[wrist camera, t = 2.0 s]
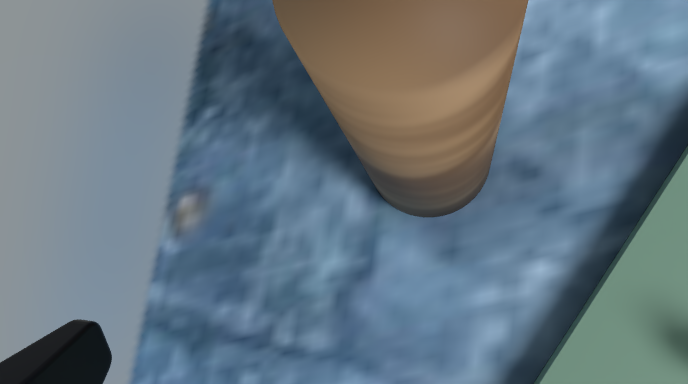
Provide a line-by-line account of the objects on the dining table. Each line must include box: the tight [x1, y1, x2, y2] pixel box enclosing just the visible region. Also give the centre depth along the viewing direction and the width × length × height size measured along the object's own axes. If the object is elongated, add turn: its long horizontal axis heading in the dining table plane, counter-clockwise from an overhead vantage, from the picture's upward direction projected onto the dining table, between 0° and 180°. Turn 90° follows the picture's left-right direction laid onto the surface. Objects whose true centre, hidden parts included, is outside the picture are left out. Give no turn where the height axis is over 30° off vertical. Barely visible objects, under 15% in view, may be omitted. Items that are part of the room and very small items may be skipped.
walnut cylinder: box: [273, 0, 528, 217], centre depth 17 cm, size 5×5×13 cm
